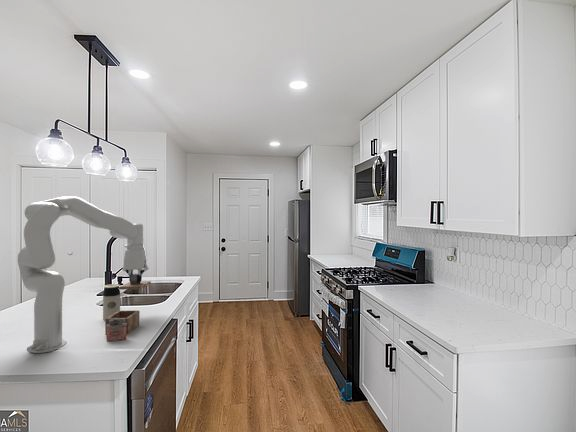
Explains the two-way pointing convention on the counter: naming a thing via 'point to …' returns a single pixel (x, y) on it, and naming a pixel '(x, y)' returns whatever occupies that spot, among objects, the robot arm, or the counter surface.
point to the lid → (135, 283)
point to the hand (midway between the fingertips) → (135, 282)
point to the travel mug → (111, 300)
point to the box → (130, 319)
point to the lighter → (116, 330)
